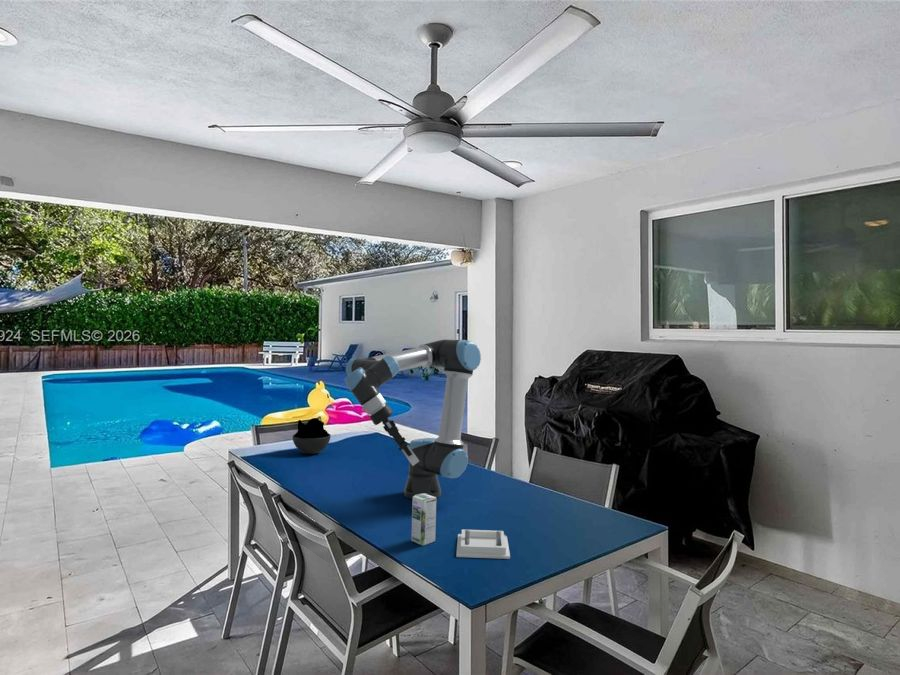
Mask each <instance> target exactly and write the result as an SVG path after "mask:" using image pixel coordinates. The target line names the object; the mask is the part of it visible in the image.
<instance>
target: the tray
mask: <svg viewBox="0 0 900 675" xmlns="http://www.w3.org/2000/svg"><path fill="white" fill-rule="evenodd" d="M509 546H510V545H509V541H508V536H507V535H505V533H504V530H487V529H483V530H482V529H461V533H457V543H456V558H474V559H477V558H479V559H499V560H501V559H504V560H510V559H511V552H510V548H509Z"/></svg>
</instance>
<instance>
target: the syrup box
mask: <svg viewBox="0 0 900 675" xmlns="http://www.w3.org/2000/svg"><path fill="white" fill-rule="evenodd" d="M411 510H412V512H411V542H414V543H416V544H418V545H420V546H422V547H423V546H426V545H429V544H431V543H433V542H434V543H435V542H436V523H437V498H436V497H433V496H431V495H428V494H425V493H424V494H418V495H415V496H413V499H412V507H411Z"/></svg>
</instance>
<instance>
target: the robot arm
mask: <svg viewBox="0 0 900 675" xmlns="http://www.w3.org/2000/svg"><path fill="white" fill-rule="evenodd" d="M481 360H482V358H481V351H480V348H479V347H478V345H477V344H476V343H475V342H474V341H472V340H467V339H439V340H436V341H435V340H434V341H432V342H427V343H423V344H420V345H419V346H418V347H417V348H410V349H406V350H401V351H396V352H391V353H386V354H385V353H384V354H380V355H375V356H371V357H364V358H352V359H350V360H349V361H347V364H346V366H345V372H346V375H347V376H346V377H344V382H345V385H346V386H347V388H348V389H349V391H350V393H352V394H353V396H354V398H355V399H356V400H357V401H358V403H359V405H360V406H361V407H362V408H361V411H362V412H365V413H366V414H367V415H368V416H369V419H370V420H371V421H372V423H373V425H375V426H377V425H379V424H381V423H382V425H384V426H382V427H383V429H384V431H385V432H387V433H388V435H389V436H390V437H392V438H393V439H394V442H395V443H396V444H397V445H398V450H399V451H402V453H403V455H404V456H405V457H406V459H407V460H408V477H407V481H406V482H405V485H404V486H405V487H404V488H403V489H404V491H403V495H404V497H406V498H408V499H410V500H413V496H415V495H418V494H424V493H425V494H428V495H431V496H433V497H436V499H438V498H440V497H441V496H442V490H441V486H440V485H441V484H440V481H439V478H438V476H440V477H443V478H449V479H457V478H458V477H460V476H461V475H462V474H463V473H464V472H465V471H466V469H467V467H468V463H469V462H468V461H469V457H468V455H467V452H466V450H464V446H465V443H464V442H463V441H462V439H461V438H462V430H463V422H464V414H465V405H466V400H467V389H468V384H469V379H470V378H471V377H472V376H473V373H474V371H475V370H476V369H478V367H479V366H480V364H481ZM418 367H419V368H420V367H423V368H430V367H433V368H435V367H436V368H437V367H438V368H443V373H444V374H445V376H446V382H445V389H444V395H443V396H444V397H443V403H442V412H441V418H440V419H441V420H440V426H439V432H438V437H436V438H435V437H424V438H417V439H413V440H411V441H410V442H409V444H408V442H407V441H406V438H405V437H404V436H402V434H401V433H400V432H399V431H400V429H399V428H398V427H397V425H396V423H395V421H394V420H393V419H392V420H390V419H389V417H391V416H392V415H393V414H394V411H393V409H392V408H391V407H390V405H389V404H387V401H386V399H385V398H384V396H383V395H382V394H381V392H380V391H379V390H378V389H379V388H380V387H381V386H383V385H384V384H386V383H387V382H388V381H390V380H392V379H393V378H394V377H395V376H396V375H398V374H399V373H400V372H401V371H406V370H409V369H415V368H418Z"/></svg>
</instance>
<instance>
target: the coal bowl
mask: <svg viewBox="0 0 900 675" xmlns="http://www.w3.org/2000/svg"><path fill="white" fill-rule="evenodd" d="M297 421H298V422H297V431H296V433H294V434H293V435H292V441H293V444H294V446H295V448H296V449H297V450H298V451H300V453H301V452H302V453H304V454H308V455H314V454H318V453H320V452H323V450H324V449H326V448H327V446H328V445H329V443H330V441H331V438H332V437H331V434H330V433H329V432H328V431H327V430H326V429H324V428H325V427H324V426H325V422H324V421H322V420H319V419H318V418H315V417H313V418H311V419H309V420H308V421H307V423H306V424H305V423H303V422H302V419H298V420H297Z"/></svg>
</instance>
